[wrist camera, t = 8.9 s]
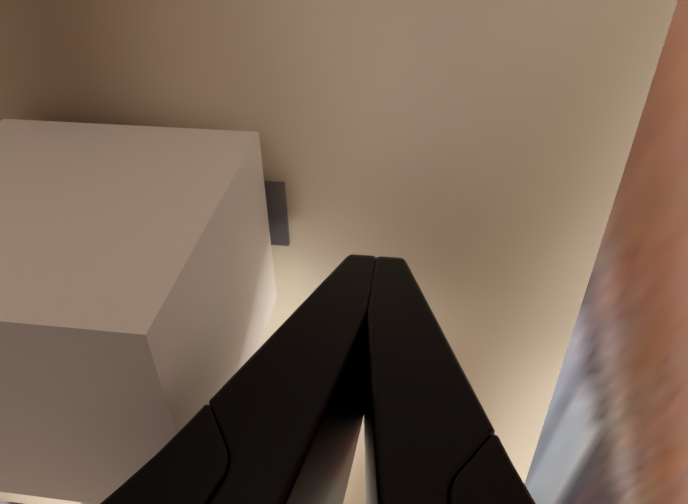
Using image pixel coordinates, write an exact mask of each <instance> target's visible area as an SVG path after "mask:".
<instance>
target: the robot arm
mask: <svg viewBox="0 0 688 504" xmlns="http://www.w3.org/2000/svg"><path fill="white" fill-rule="evenodd" d="M363 417H364V444H365V483H366V504H535V502H534V500H533V499H532V497H531V495H530V493H529V492H528V490H527V488H526V486H525V485H524V483H523V481H522V479H521V478H520V476H519V474H518V472H517V471H516V469H515V467H514V465H513V463H512V462H511V460H510V458H509V456H508V454H507V452H506V450H505V448H504V446H503V445H502V443H501V441H500V439H499V437H498V436H497V435H494V434H495V430H494V428H493V426H492V424H491V422H490V420H489V418H488V417H487V415H486V413H485V411H484V409H483V407H482V405H481V403H480V401H479V399H478V398H477V396H476V394H475V392H474V390H473V388H472V386H471V384H470V382H469V380H468V378H467V377H466V375H465V373H464V371H463V369H462V367H461V365H460V363H459V361H458V359H457V358H456V356H455V354H454V352H453V350H452V348H451V346H450V344H449V342H448V340H447V338H446V337H445V335H444V333H443V331H442V329H441V327H440V325H439V323H438V321H437V319H436V317H435V316H434V314H433V312H432V310H431V308H430V306H429V304H428V302H427V300H426V298H425V297H424V295H423V293H422V291H421V289H420V287H419V285H418V283H417V281H416V279H415V277H414V276H413V274H412V272H411V270H410V268H409V266H408V264H407V262H406V261H405V260H404V259H403V258H398V257H384V256H379V257H377V258H376V257H375V256H371V255H357V254H350V255H348V256H347V257H346V258H345V259H344V260H343V261H342V262H341V263H340V264H339V265H338V266H337V267H336V268H335V269H334V271H333V272H332V273H331V274H330V275H329V276H328V277H327V278H326V279H325V280H324V281H323V282H322V283H321V284H320V285H319V286H318V287H317V288H316V289H315V290H314V291H313V293H312V294H311V295H310V296H309V297H308V298H307V299H306V300H305V301H304V302H303V303H302V304H301V305H300V306H299V307H298V308H297V309H296V310H295V311H294V312H293V313H292V314H291V316H290V317H289V318H288V319H287V320H286V321H285V322H284V323H283V324H282V325H281V326H280V327H279V328H278V329H277V330H276V331H275V332H274V333H273V334H272V335H271V336H270V338H269V339H268V340H267V341H266V342H265V343H264V344H263V345H262V346H261V347H260V348H259V349H258V350H257V351H256V352H255V353H254V354H253V355H252V356H251V357H250V358H249V360H248V361H247V362H246V363H245V364H244V365H243V366H242V367H241V368H240V369H239V370H238V371H237V372H236V373H235V374H234V375H233V376H232V377H231V378H230V379H229V380H228V382H227V383H226V384H225V385H224V386H223V387H222V388H221V389H220V390H219V391H218V392H217V393H216V394H215V395H214V396H213V397H212V398H211V399H210V401H209V405H207V404H206V405H204V406H203V407H202V408H201V409H200V410H199V411H198V413H197V414H196V415H195V416H194V417H193V418H192V419H191V420H190V421H189V422H188V423H187V424H186V425H185V426H184V427H183V428H182V429H181V430H180V431H179V432H178V433H177V434H176V435H175V436H174V437H173V438H172V439H171V440H170V441H169V442H168V443H167V444H166V445H165V446H164V447H163V448H162V449H161V450H160V451H159V452H158V453H157V454H156V455H155V456H154V457H153V458H151V459H150V460H149V461H148V462H147V463H146V464H145V465H144V466H142V467H141V468H140V469H139V470H138V471H137V472H136V473H135V474H133V475H132V476H131V477H130V478H129V479H128V480H127V481H126V482H124V483H123V484H122V485H121V486H120V487H119V488H118V489H117V490H115V491H114V492H113V493H112V494H111V495H110V496H108V497H107V498H106V499H105V500H104V501H103V502H101V503H100V504H343V502H344V498H345V493H346V489H347V485H348V481H349V476H350V472H351V468H352V464H353V460H354V455H355V451H356V447H357V443H358V438H359V434H360V430H361V426H362V422H363Z"/></svg>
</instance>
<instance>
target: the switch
mask: <svg viewBox="0 0 688 504" xmlns="http://www.w3.org/2000/svg"><path fill="white" fill-rule="evenodd" d="M276 297H277V295H276V286H275V277H274V267H273V258H272V249H271V240H270V231H269V222H268V213H267V203H266V194H265V185H264V176H263V167H262V158H261V149H260V139H259V132H252V131H233V130H213V129H194V128H174V127H155V126H135V125H116V124H96V123H77V122H57V121H37V120H18V119H2V120H1V121H0V492H5V493H13V494H21V495H28V496H36V497H44V498H52V499H59V500H67V501H75V502H82V503H90V504H100V503H101V502H103V501H104V500H105V499H106V498H107V497H108V496H110V495H111V494H112V493H113V492H114V491H115V490H117V489H118V488H119V487H120V486H121V485H122V484H123V483H124V482H126V481H127V480H128V479H129V478H130V477H131V476H132V475H133V474H135V473H136V472H137V471H138V470H139V469H140V468H141V467H142V466H144V465H145V464H146V463H147V462H148V461H149V460H150V459H151V458H153V457H154V456H155V455H156V454H157V453H158V452H159V451H160V450H161V449H162V448H163V447H164V446H165V445H166V444H167V443H168V442H169V441H170V440H171V439H172V438H173V437H174V436H175V435H176V434H177V433H178V432H179V431H180V430H181V429H182V428H183V427H184V426H185V425H186V424H187V423H188V422H189V421H190V420H191V419H192V418H193V417H194V416H195V415H196V414H197V413H198V411H199V410H200V409H201V408H202V407H203V406H204V405H206V404H207V405H209V401H210V399H211V398H212V397H213V396H214V395H215V394H216V393H217V392H218V391H219V390H220V389H221V388H222V387H223V386H224V385H225V384H226V383H227V382H228V380H229V379H230V378H231V377H232V376H233V375H234V374H235V373H236V372H237V371H238V370H239V369H240V368H241V367H242V366H243V365H244V364H245V363H246V362H247V361H248V360H249V358H250V357H251V356H252V355H253V354H254V353H255V352H256V351H257V350H258V349H259V348H260V345H261V342H262V339H263V336H264V333H265V330H266V327H267V324H268V321H269V318H270V315H271V312H272V309H273V306H274V303H275V300H276Z"/></svg>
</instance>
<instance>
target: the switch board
mask: <svg viewBox="0 0 688 504" xmlns="http://www.w3.org/2000/svg"><path fill="white" fill-rule="evenodd" d="M677 1H678V0H0V121H1V120H2V119H18V120H37V121H57V122H77V123H96V124H116V125H135V126H155V127H174V128H194V129H213V130H233V131H252V132H259V139H260V149H261V158H262V167H263V176H264V185H265V194H266V203H267V213H268V222H269V231H270V240H271V249H272V258H273V267H274V277H275V286H276V295H277V297H276V300H275V303H274V306H273V309H272V312H271V315H270V318H269V321H268V324H267V327H266V330H265V333H264V336H263V339H262V342H261V345H260V347H261V346H262V345H263V344H264V343H265V342H266V341H267V340H268V339H269V338H270V336H271V335H272V334H273V333H274V332H275V331H276V330H277V329H278V328H279V327H280V326H281V325H282V324H283V323H284V322H285V321H286V320H287V319H288V318H289V317H290V316H291V314H292V313H293V312H294V311H295V310H296V309H297V308H298V307H299V306H300V305H301V304H302V303H303V302H304V301H305V300H306V299H307V298H308V297H309V296H310V295H311V294H312V293H313V291H314V290H315V289H316V288H317V287H318V286H319V285H320V284H321V283H322V282H323V281H324V280H325V279H326V278H327V277H328V276H329V275H330V274H331V273H332V272H333V271H334V269H335V268H336V267H337V266H338V265H339V264H340V263H341V262H342V261H343V260H344V259H345V258H346V257H347V256H348V255H350V254H357V255H371V256H375V257H376V258H377V257H379V256H384V257H398V258H403V259H404V260H405V261H406V262H407V264H408V266H409V268H410V270H411V272H412V274H413V276H414V277H415V279H416V281H417V283H418V285H419V287H420V289H421V291H422V293H423V295H424V297H425V298H426V300H427V302H428V304H429V306H430V308H431V310H432V312H433V314H434V316H435V317H436V319H437V321H438V323H439V325H440V327H441V329H442V331H443V333H444V335H445V337H446V338H447V340H448V342H449V344H450V346H451V348H452V350H453V352H454V354H455V356H456V358H457V359H458V361H459V363H460V365H461V367H462V369H463V371H464V373H465V375H466V377H467V378H468V380H469V382H470V384H471V386H472V388H473V390H474V392H475V394H476V396H477V398H478V399H479V401H480V403H481V405H482V407H483V409H484V411H485V413H486V415H487V417H488V418H489V420H490V422H491V424H492V426H493V428H494V430H495V434H494V435H497V436H498V437H499V439H500V441H501V443H502V445H503V446H504V448H505V450H506V452H507V454H508V456H509V458H510V460H511V462H512V463H513V465H514V467H515V469H516V471H517V472H518V474H519V476H520V478H521V479H522V481H523V483H524V484H525V481H526V477H527V474H528V471H529V468H530V465H531V462H532V459H533V455H534V452H535V449H536V446H537V443H538V440H539V436H540V433H541V430H542V427H543V424H544V421H545V417H546V414H547V411H548V408H549V405H550V402H551V399H552V395H553V392H554V389H555V386H556V383H557V380H558V376H559V373H560V370H561V367H562V364H563V361H564V358H565V354H566V351H567V348H568V345H569V342H570V339H571V335H572V332H573V329H574V326H575V323H576V320H577V317H578V313H579V310H580V307H581V304H582V301H583V298H584V294H585V291H586V288H587V285H588V282H589V279H590V275H591V272H592V269H593V266H594V263H595V260H596V257H597V253H598V250H599V247H600V244H601V241H602V238H603V234H604V231H605V228H606V225H607V222H608V219H609V216H610V212H611V209H612V206H613V203H614V200H615V197H616V193H617V190H618V187H619V184H620V181H621V178H622V175H623V171H624V168H625V165H626V162H627V159H628V156H629V152H630V149H631V146H632V143H633V140H634V137H635V133H636V130H637V127H638V124H639V121H640V118H641V115H642V111H643V108H644V105H645V102H646V99H647V96H648V92H649V89H650V86H651V83H652V80H653V77H654V74H655V70H656V67H657V64H658V61H659V58H660V55H661V51H662V48H663V45H664V42H665V39H666V36H667V33H668V29H669V26H670V23H671V20H672V17H673V14H674V10H675V7H676V4H677ZM0 501H8V502H16V503H23V504H81V502H75V501H67V500H59V499H52V498H44V497H36V496H28V495H21V494H13V493H5V492H0ZM343 504H366V483H365V444H364V417H363V422H362V426H361V430H360V434H359V438H358V443H357V447H356V451H355V455H354V460H353V464H352V468H351V472H350V476H349V481H348V485H347V489H346V493H345V498H344V502H343Z"/></svg>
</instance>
